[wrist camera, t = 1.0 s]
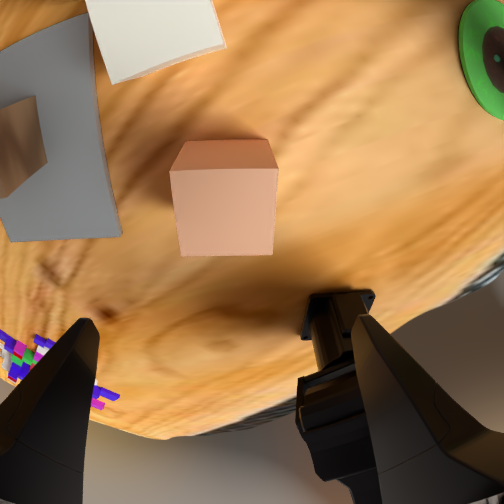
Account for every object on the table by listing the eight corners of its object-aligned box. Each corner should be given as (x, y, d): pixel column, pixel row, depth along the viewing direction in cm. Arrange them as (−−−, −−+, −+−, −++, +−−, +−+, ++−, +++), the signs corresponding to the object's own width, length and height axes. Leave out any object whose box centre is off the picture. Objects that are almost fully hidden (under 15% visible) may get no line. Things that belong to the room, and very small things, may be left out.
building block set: (138, 380, 36) (134, 408, 32) (95, 406, 44) (92, 426, 41) (-15, 290, 24) (-30, 316, 21) (-14, 345, 33) (-23, 364, 29)
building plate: (122, 232, 20) (120, 237, 20) (14, 238, 20) (10, 242, 19) (92, 12, 10) (88, 12, 10) (-28, 70, 10) (-33, 72, 9)
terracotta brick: (264, 209, 20) (272, 254, 16) (191, 210, 20) (181, 256, 16) (267, 139, 17) (278, 168, 13) (185, 140, 17) (169, 171, 13)
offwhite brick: (227, 48, 13) (223, 43, 9) (144, 76, 14) (112, 84, 10) (204, -23, 10) (193, -50, 6) (122, 8, 11) (84, -4, 7)
